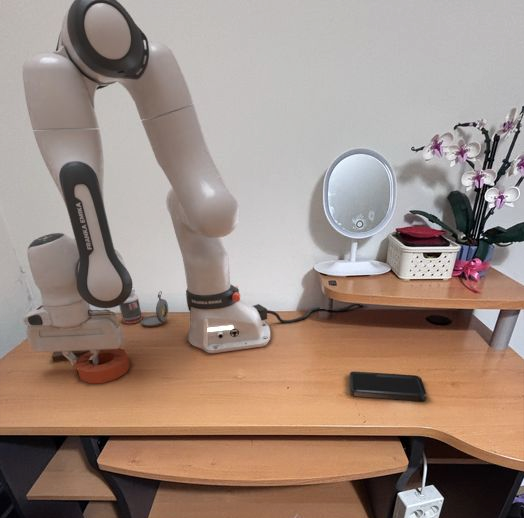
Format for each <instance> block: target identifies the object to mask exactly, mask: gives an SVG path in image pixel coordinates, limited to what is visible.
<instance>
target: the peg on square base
mask: <svg viewBox="0 0 524 518" xmlns="http://www.w3.org/2000/svg"><path fill="white" fill-rule="evenodd" d="M89 351H90V350H82V351H71V352H72V353H73V354H74V355H75V356H76V357H80V356H82V355H84V354H86V353H87V352H89ZM51 359H52V362H60V361H66V360H67V361H68V359H67V358H66V357H65V356H64V355H63V353H62V351H57V352H52V355H51Z"/></svg>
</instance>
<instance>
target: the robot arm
mask: <svg viewBox="0 0 524 518" xmlns="http://www.w3.org/2000/svg"><path fill="white" fill-rule="evenodd" d="M22 82H23V88H24V90H23V91H24V96H25V102H26V103H25V104H26V109H27V112H28V116H29V117H28V118H29V121H30V124H31V129H32V130H33V135H34V139H35V141H36V144H37V147H38V150H39V153H40V155H41V157H42V160H43V162H44V164H45V167H46V169H47V170H48V173H49V174H50V176H51V178H52V180H53V182H54V184H55V186H56V188H57V190H58V192H59V194H60V196H61V198H62V200H63V202H64V205H65V207H66V210H67V213H68V217H69V221H70V225H71V228H72V233H73V235H74V236H73V237H74V238H73V237H70V236H69V235H67V234H65V233H61V232H55V233H49V234H45V235H43V236H40V237H38V238H36V239H34V240H32V242H31V243H29V245H28V246H27V250H26V251H27V252H26V254H27V261H28V265H29V269H30V272H31V276H32V279H33V281H34V284H35V286H36V287H37V289H38V290H39V292H40V295H41V298H40V299H41V300H40V301H41V304H39V305H37V306H36V307H34V308H33V309H30V311H29V312H27V314H25V315H24V317H23V318H22V320H23V323H24V325H25V326H26V329H25V332H26V333H25V334H26V337H27V340H28V343H29V346H30V348H31V350H33V351H34V352H36V353H51V352H52V353H54V352H57V351H62V353H63V355H64V356H65V357H66V358H67V361H70V364H71V366H72V367H77V366H76V362H77V360H78V359H79V358H80V357H76V356H75V355H74V354H73V353H72V352H71V351H82V350H90V352H91V354H93V353H94V354H93V356H91V357H90V358H89V360H88V361H89V363H90V364H92V365H97V364H98V363H99V361H98V357H97V356H98V353H99V351H100V350H106V349H119V348H121V347H122V346H123V344H124V342H125V336H124V332H123V330H122V327H121V325H120V324H121V323H120V318H119V315H118V314H117V313H115V312H114V311H112V310H110V309H113V308H116V307H119V305H121V304H122V303H124V302H125V301H126V300H127V299H128V297H129V296H130V294H131V291H132V287H133V279H132V277H131V274H130V272H129V270H128V269H127V266H126V264H125V261H124V259H123V257H122V255H121V254H120V253H119V251H118V250H116V249H115V246H114V242H113V237H112V233H111V230H110V229H111V228H110V225H109V221H108V217H107V213H106V208H105V207H106V206H105V199H104V179H105V177H104V176H105V166H104V165H105V161H104V150H103V149H104V148H103V142H102V141H103V140H102V136H101V131H100V127H99V122H98V118H97V113H96V109H95V108H96V107H95V106H96V105H95V96H96V91H97V90H101V89H104V88H107V87H108V86H110V85H111V86H112V85H113V84H116V83H118V84H120V85H121V86H122V87H123V88H124V89H125V90H126V91H127V92H128V94H129V95H130V97H131V99H132V101H133V102H134V104H135V107H136V111H137V113H138V115H139V119H140V120H141V123H142V126H143V129H144V132H145V134H146V137H147V139H148V142H149V145H150V148H151V150H152V152H153V155H154V157H155V160H156V162H157V164H158V166H159V167H160V169H161V170H162V171H163V173H164V175H165V176H166V178H167V180H168V182H169V184H170V185H171V187H170V189H169V190H168V192H167V195H166V199H165V204H166V209H167V211H168V214H169V216H170V219H171V222H172V226H173V230H174V234H175V237H176V240H177V241H176V242H177V243H178V247H179V250H180V253H181V258H182V262H183V268H184V275H185V282H186V290H185V299H186V305H187V308H188V311H189V330H188V335H187V341H188V342H189V344H191V345H192V346H193V347H195V348H199V349H202V350H203V351H204V352H206V353H207V354H217V353H218V354H219V353H224V352H225V353H226V352H232V351H233V352H234V351H240V350H246V349H247V350H248V349H254V348H261V347H265V346H267V344H269V342H270V340H271V337H272V336H271V328H270V326H269V324H268V323H267V322H265V320H268V314H270V315H273V316H275V317H276V319H277V321H278V322H280V323H283V324H292V323H296V322H299V321H301V320H304V319H306V318H307V317H309V316H310V314H311V313H312V312H314V311H321V310H320V307H321V306H315V307H312V308H310V309H309V310H308V311H307V312H306V313H305V314H303V315H302V316H299V317H296V318H293V319H287V320H286V319H282V318H281V316H280V315H279V313H277V312H276V311H273V310H270V309H268V308H267V307H265V306H263V305H262V304H260V303H258V304H254V305H251V304H250V303H248V302H247V301H245V300H243V299H241V294H240V289H239V287H238V285H237V284H236V285H233V284H232V283H231V274H230V273H231V272H230V260H229V254H228V252H227V250H226V248H225V246H224V244H223V241H222V238H225V237H227V236H229V235H230V234H231V233H233V232H234V231H235V229H236V228H237V227H238V225H239V221H240V215H241V209H240V206H239V203H238V201H237V199H236V197H235V196H234V195H233V194H232V193H231V192H230V190H229V188H228V187H227V185H226V183H225V180H224V178H223V177H222V174H221V172H220V171H219V168H218V167H217V164H216V163H215V161H214V158H213V156H212V154H211V152H210V150H209V147H208V145H207V141H206V139H205V135H204V132H203V129H202V126H201V123H200V120H199V117H198V114H197V113H198V112H197V110H196V107H195V104H194V100H193V98H192V94H191V91H190V89H189V86H188V84H187V81H186V78H185V76H184V73H183V71H182V69H181V67H180V64H179V62H178V59H177V58H176V56H175V55H174V53H173V50H171V48H170V47H169V46H168V45H166V44H165V43H162V42H161V41H156V40H148V37H147V36H146V34H145V33H144V32H143V31H142V29H141V28H140V27H139V25H137V23H136V22H135V20H134V18H133V17H132V16H131V15H130V13H129V12H128V11H127V9H126V8H125V7H124V5H122V4H121V3H120V2H119V1H118V0H74V1H72V3H71V5H70V6H69V8H68V9H67V11H66V13H65V15H64V16H63V19H62V23H61V30H60V32H59V36H58V40H57V45H56V49H55V51H53V52H52V51H51V52H50V51H44V52H43V51H42V52H37V53H34V54H32V55H30V56H28V57H27V59H26V60H25V61H24V63H23V65H22ZM360 304H361V305H360ZM360 304H354V303H351V304H349V305H347V306H345V307H340V308H334V307H331V308H332V309H331V311H330V312H344V311H347V310H349V309H351V308H353V307H359V308H365V306H364V305H363V304H362V303H360ZM91 306H92V307H96V308H99V309H91Z"/></svg>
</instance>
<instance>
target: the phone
mask: <svg viewBox="0 0 524 518" xmlns="http://www.w3.org/2000/svg"><path fill="white" fill-rule="evenodd" d="M348 377H349V394H350V395H351V396H352V397H361V398H362V397H363V398H376V399H389V400H401V401H413V402H414V401H415V402H424V401H425V400H426V398H427V391H426V389H425V386H424V382H423V379H422V377H421V376H419V375H415V374H403V373H402V374H401V373H386V372H371V371H370V372H369V371H357V370H355V371H350V372H349V376H348Z"/></svg>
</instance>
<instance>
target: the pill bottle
mask: <svg viewBox="0 0 524 518" xmlns="http://www.w3.org/2000/svg"><path fill="white" fill-rule="evenodd" d="M135 293H136V290H135V287H134V286H132V291H131V294H130V296H129V297H128V299H127V300H126V301H125V302H124V303H122V304H121V305H119V306H118V307H119V311H120V314H121V315H120V316H121V319H122V321H123V323H125V324H129V325H130V324H137V323H139V322H141V321H142V320H143V315H142V310H141V305H140V300H139V297H138V295H137V294H135Z"/></svg>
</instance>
